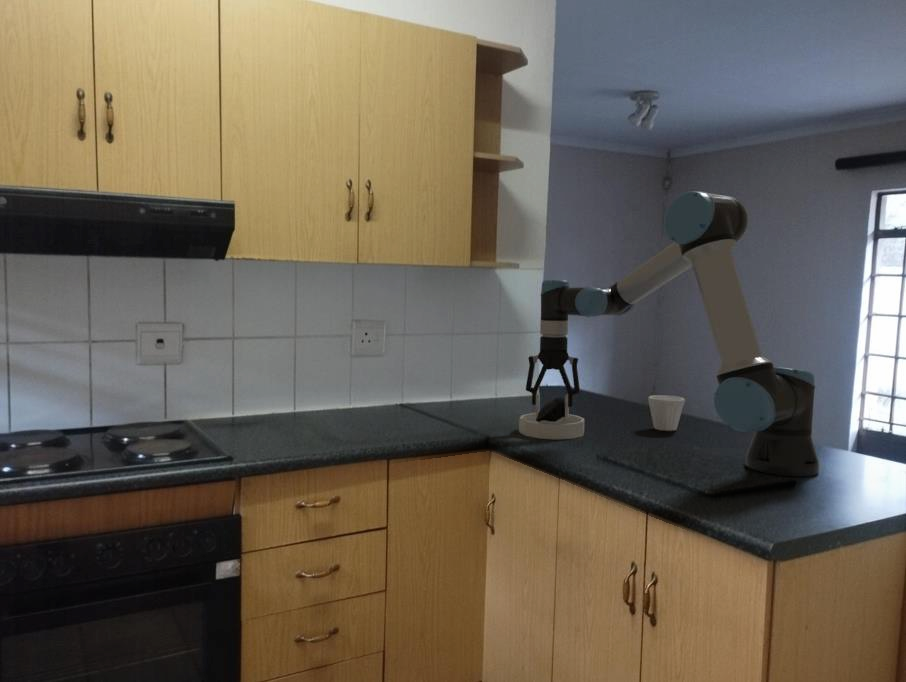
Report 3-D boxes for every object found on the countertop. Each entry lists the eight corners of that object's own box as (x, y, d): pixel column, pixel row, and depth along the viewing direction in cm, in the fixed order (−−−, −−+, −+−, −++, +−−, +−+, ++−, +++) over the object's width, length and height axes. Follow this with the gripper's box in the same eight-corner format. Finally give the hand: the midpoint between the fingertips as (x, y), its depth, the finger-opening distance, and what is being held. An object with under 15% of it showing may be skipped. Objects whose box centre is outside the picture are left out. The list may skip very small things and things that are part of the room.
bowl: (581, 441, 188) (581, 426, 188) (515, 436, 193) (515, 422, 192) (585, 428, 205) (586, 414, 205) (525, 424, 210) (525, 411, 209)
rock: (533, 421, 194) (533, 400, 194) (543, 415, 203) (543, 394, 203) (558, 423, 191) (558, 402, 191) (567, 417, 201) (567, 396, 200)
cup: (682, 427, 208) (683, 396, 208) (684, 434, 199) (685, 401, 198) (647, 425, 211) (648, 394, 210) (647, 431, 201) (648, 399, 201)
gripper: (592, 335, 198) (589, 417, 200) (519, 333, 203) (518, 413, 205) (590, 337, 191) (588, 422, 193) (515, 335, 196) (513, 417, 198)
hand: (552, 417), depth 199 cm, fingers closed on rock, 7 cm apart
